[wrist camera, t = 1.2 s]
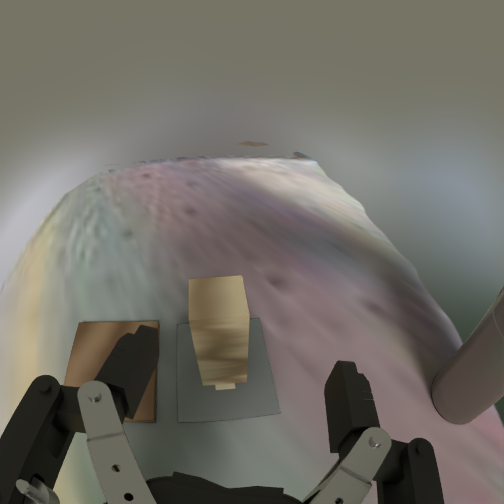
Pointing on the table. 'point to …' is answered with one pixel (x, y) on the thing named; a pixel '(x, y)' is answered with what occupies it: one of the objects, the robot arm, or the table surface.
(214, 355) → the maple block
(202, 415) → the card
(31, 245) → the table surface
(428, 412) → the table surface
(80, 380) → the walnut board
